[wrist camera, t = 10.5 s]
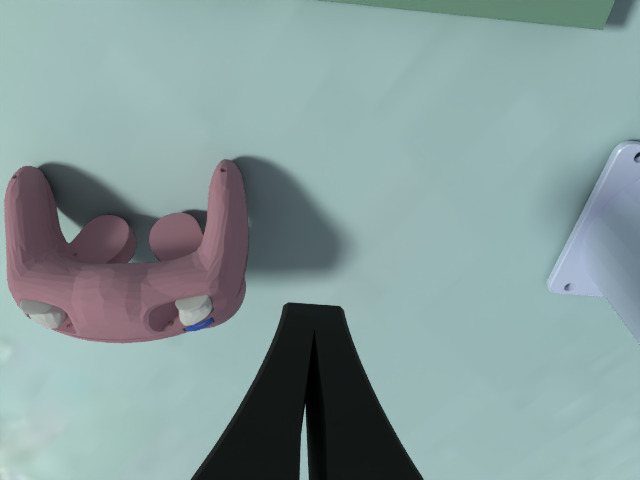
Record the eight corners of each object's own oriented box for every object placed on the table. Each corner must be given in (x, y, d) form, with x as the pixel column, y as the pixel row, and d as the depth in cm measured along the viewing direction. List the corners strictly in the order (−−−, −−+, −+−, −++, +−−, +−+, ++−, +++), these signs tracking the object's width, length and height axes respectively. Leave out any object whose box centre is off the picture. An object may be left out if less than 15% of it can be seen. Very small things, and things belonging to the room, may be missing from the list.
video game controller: (64, 213, 23) (23, 353, 20) (4, 155, 19) (-60, 321, 15) (261, 207, 23) (253, 348, 19) (244, 147, 18) (230, 314, 15)
